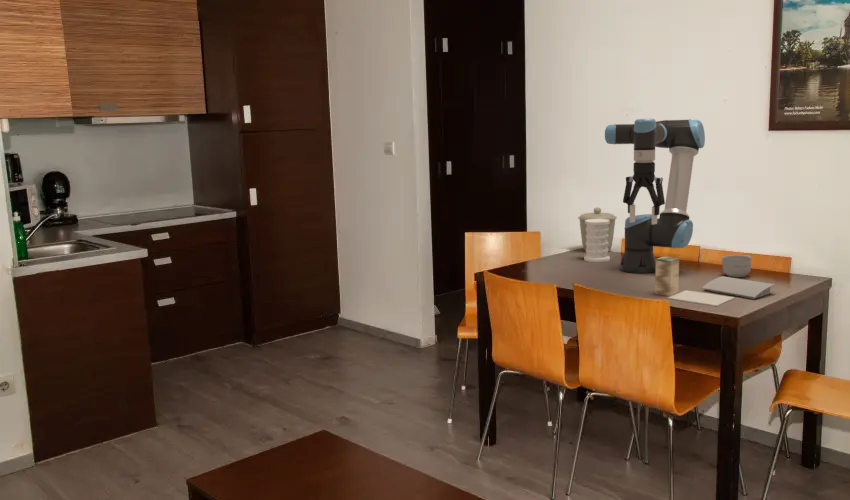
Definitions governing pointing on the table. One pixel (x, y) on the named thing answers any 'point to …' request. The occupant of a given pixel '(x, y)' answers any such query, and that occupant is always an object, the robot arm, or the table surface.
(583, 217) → the canister
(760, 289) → the book
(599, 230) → the decorative container
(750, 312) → the table surface
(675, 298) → the grey mat
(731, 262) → the teacup
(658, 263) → the maple block
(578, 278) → the table surface
